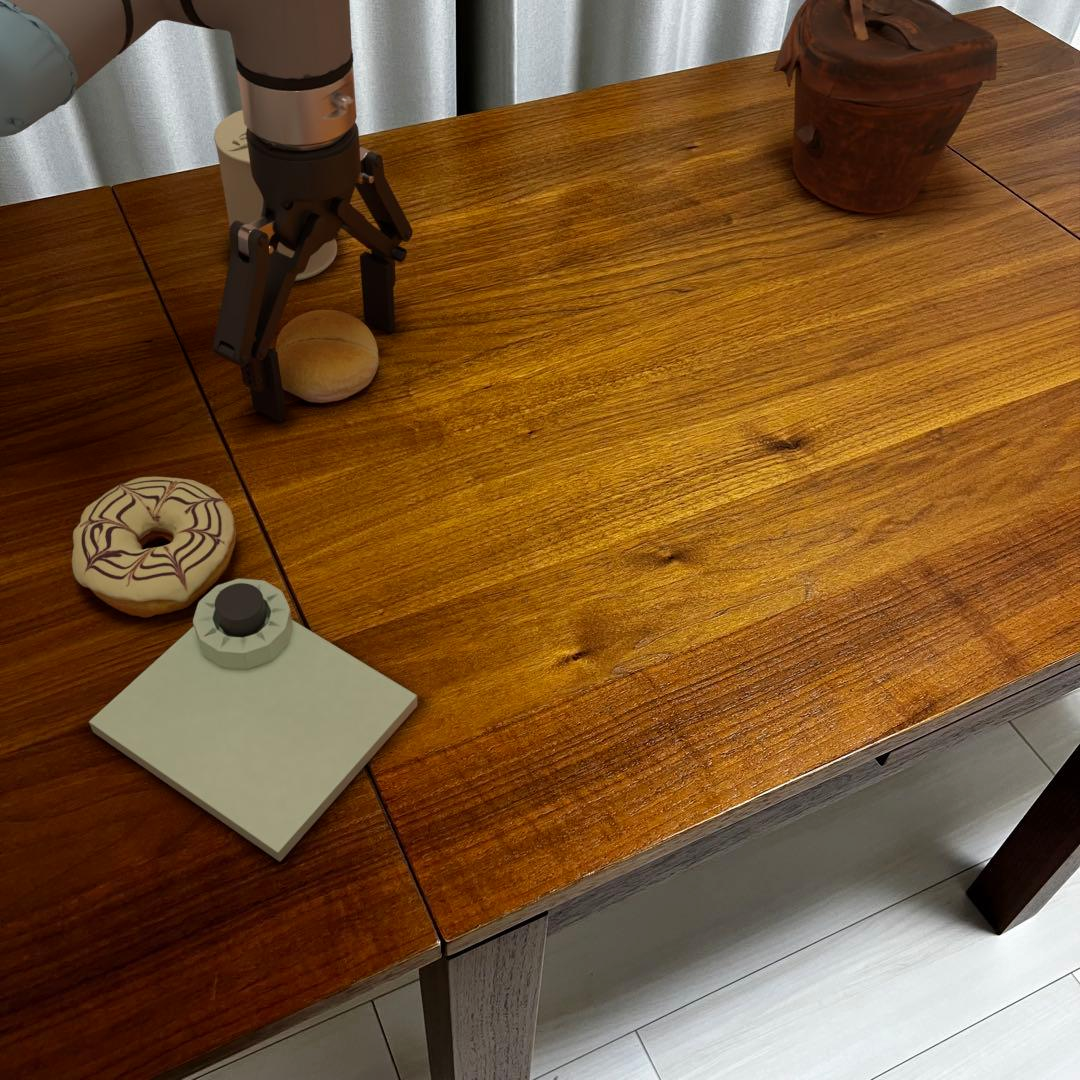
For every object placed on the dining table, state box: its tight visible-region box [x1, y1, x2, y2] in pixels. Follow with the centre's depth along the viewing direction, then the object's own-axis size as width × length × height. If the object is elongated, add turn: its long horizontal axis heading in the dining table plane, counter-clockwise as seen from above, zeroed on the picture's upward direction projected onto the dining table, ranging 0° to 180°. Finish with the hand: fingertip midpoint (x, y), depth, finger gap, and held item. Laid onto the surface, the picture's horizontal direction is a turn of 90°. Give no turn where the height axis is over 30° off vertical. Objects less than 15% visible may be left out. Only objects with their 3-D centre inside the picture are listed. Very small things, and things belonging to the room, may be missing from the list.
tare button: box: [215, 583, 266, 637], centre depth 75 cm, size 3×3×2 cm
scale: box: [88, 577, 418, 863], centre depth 73 cm, size 15×13×3 cm
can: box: [213, 109, 338, 282], centre depth 102 cm, size 9×9×12 cm
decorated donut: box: [71, 476, 237, 619], centre depth 81 cm, size 10×11×4 cm
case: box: [773, 0, 999, 214], centre depth 113 cm, size 18×20×18 cm
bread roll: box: [275, 309, 380, 404], centre depth 95 cm, size 8×9×4 cm
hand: (327, 367), depth 96 cm, fingers open, 13 cm apart
